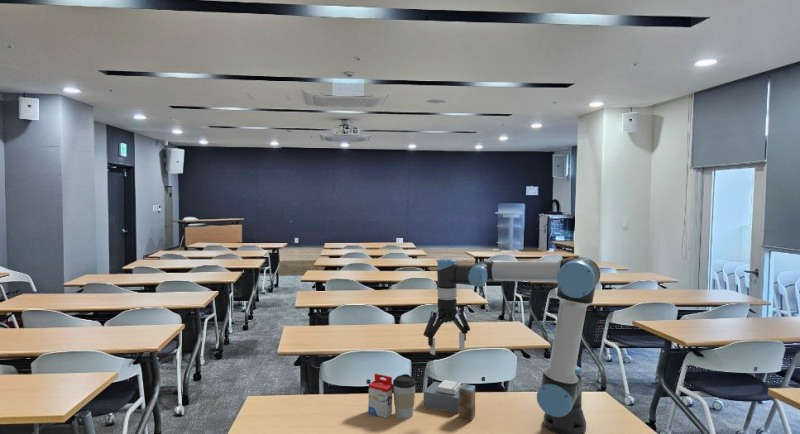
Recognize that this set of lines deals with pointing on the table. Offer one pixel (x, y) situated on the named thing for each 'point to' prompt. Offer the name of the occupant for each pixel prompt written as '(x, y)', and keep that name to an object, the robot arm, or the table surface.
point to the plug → (467, 402)
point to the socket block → (441, 399)
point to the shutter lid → (449, 387)
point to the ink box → (380, 396)
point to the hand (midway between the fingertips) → (447, 351)
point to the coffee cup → (404, 396)
